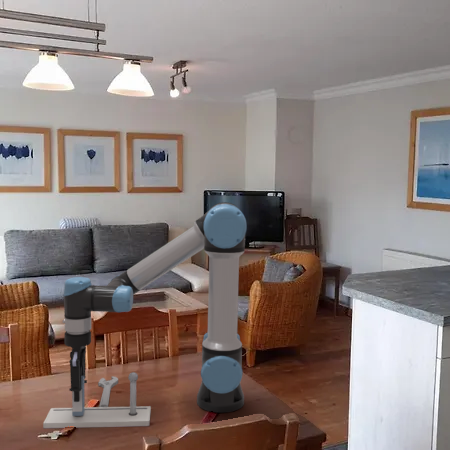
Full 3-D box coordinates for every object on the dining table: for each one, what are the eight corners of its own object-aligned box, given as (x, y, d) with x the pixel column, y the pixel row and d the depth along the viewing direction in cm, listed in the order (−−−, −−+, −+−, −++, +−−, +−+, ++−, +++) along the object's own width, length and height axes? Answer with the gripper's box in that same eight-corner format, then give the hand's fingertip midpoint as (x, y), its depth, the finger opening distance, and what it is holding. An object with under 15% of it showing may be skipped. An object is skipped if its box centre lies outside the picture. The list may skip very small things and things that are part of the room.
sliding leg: (84, 411, 165) (84, 375, 164) (82, 415, 162) (82, 379, 161) (74, 411, 165) (74, 375, 164) (72, 415, 162) (72, 379, 161)
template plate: (150, 410, 170) (151, 366, 169) (149, 425, 161) (149, 378, 159) (51, 412, 168) (50, 367, 166) (43, 428, 158) (42, 380, 156)
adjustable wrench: (107, 412, 170) (107, 407, 170) (86, 412, 170) (86, 407, 170) (119, 381, 195) (119, 376, 195) (100, 381, 195) (100, 376, 194)
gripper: (69, 323, 169) (70, 397, 171) (58, 339, 153) (59, 420, 155) (94, 323, 169) (95, 396, 172) (86, 339, 153) (87, 420, 156)
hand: (78, 408), depth 163 cm, fingers closed on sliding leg, 3 cm apart
